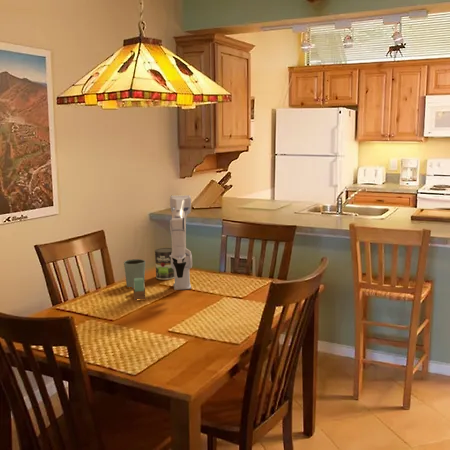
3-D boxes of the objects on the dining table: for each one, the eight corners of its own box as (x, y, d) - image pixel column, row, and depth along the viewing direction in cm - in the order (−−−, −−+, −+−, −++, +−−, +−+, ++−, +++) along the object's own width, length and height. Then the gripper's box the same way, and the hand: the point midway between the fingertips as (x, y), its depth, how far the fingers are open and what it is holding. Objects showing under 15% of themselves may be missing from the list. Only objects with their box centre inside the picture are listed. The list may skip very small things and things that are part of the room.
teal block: (134, 289, 246) (134, 278, 246) (143, 288, 247) (143, 277, 246) (134, 291, 243) (134, 280, 242) (143, 291, 243) (143, 280, 242)
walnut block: (134, 297, 247) (133, 288, 247) (145, 296, 248) (144, 288, 248) (134, 300, 243) (133, 292, 242) (145, 300, 243) (145, 291, 243)
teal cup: (121, 288, 262) (120, 263, 260) (130, 282, 272) (128, 258, 269) (141, 289, 260) (140, 264, 257) (149, 283, 269) (148, 259, 267)
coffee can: (173, 280, 273) (172, 252, 271) (153, 279, 275) (152, 252, 273) (178, 274, 283) (177, 247, 281) (159, 274, 285) (157, 247, 283)
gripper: (168, 242, 247) (169, 271, 250) (169, 249, 233) (171, 280, 235) (184, 241, 248) (185, 270, 250) (186, 248, 234) (187, 279, 236)
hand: (179, 275), depth 243 cm, fingers open, 7 cm apart
